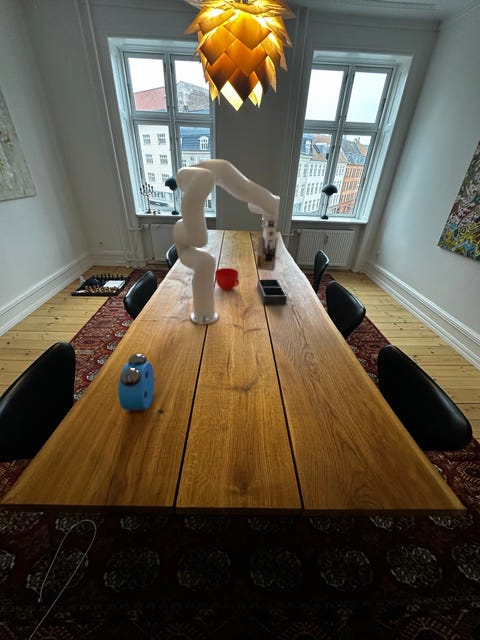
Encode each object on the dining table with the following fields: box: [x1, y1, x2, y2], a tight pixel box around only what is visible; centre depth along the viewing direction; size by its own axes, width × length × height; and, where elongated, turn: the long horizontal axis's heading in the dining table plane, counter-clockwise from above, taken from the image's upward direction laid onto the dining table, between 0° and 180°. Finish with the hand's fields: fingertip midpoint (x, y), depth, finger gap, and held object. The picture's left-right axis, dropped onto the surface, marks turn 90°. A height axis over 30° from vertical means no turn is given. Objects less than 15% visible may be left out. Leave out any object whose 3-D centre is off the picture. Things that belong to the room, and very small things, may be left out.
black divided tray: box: [256, 278, 288, 306], centre depth 141 cm, size 23×12×5 cm, turn 5°
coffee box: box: [256, 235, 279, 272], centre depth 133 cm, size 9×6×16 cm
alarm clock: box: [118, 352, 155, 413], centre depth 72 cm, size 13×6×15 cm, turn 4°
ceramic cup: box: [214, 267, 240, 291], centre depth 145 cm, size 13×17×10 cm
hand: (266, 258), depth 134 cm, fingers closed on coffee box, 8 cm apart
